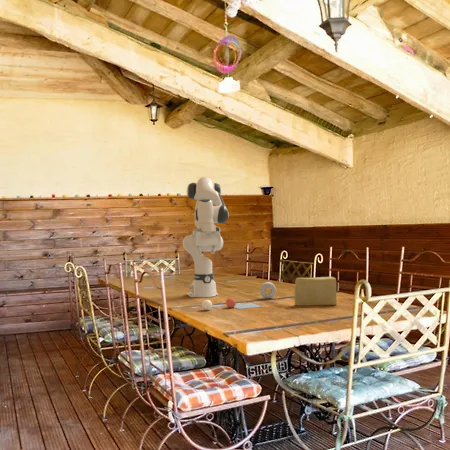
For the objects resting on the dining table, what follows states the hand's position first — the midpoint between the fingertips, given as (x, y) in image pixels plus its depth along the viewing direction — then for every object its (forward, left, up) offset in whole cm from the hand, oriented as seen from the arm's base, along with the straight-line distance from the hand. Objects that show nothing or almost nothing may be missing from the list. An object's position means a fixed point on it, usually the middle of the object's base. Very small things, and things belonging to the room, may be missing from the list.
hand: (206, 254), depth 278 cm
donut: (-10, +43, -30) cm, 53 cm away
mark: (+6, +20, -29) cm, 36 cm away
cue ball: (+6, -3, -27) cm, 27 cm away
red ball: (+6, +11, -27) cm, 29 cm away
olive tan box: (+23, +54, -30) cm, 66 cm away
